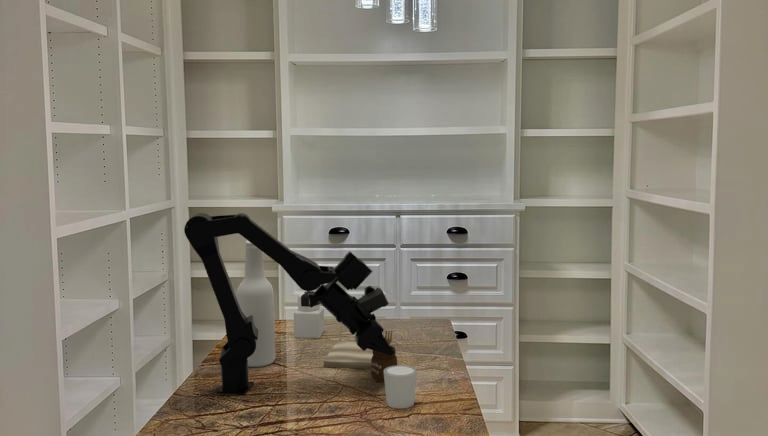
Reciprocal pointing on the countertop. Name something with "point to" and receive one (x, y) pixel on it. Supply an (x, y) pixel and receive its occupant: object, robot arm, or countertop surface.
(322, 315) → the medicine bottle
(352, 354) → the ash cloth
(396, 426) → the countertop surface
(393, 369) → the white cup
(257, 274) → the alcohol
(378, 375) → the utensil holder
